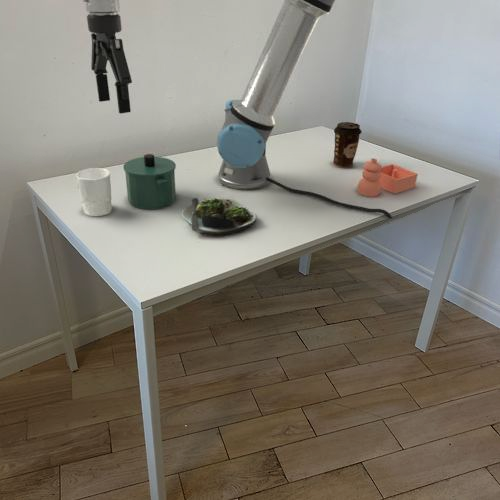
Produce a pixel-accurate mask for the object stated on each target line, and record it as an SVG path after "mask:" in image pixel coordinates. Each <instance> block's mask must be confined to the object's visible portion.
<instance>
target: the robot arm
mask: <svg viewBox="0 0 500 500" xmlns="http://www.w3.org/2000/svg"><path fill="white" fill-rule="evenodd" d="M335 1H336V0H283V3H282V5H281V8H280V10H279V12H278V15H277V16H276V18H275V22H274V23H273V26H272V28H271V30H270V33H269V35H268V37H267V39H266V42H265V44H264V46H263V48H262V51H261V53H260V56H259V58H258V60H257V61H256V62H257V63H256V65H255V66H254V68H253V72H252V74H251V76H250V78H249V80H248V83H247V85H246V87H245V89H244V92H243V95H242V97H241V98H240V99H229V100H227V101H226V103H225V108H224V112H225V116H224V123H223V125H222V126H221V130H220V131H219V133H218V135H217V137H216V148H217V151H218V154H219V156H220V158H221V159H222V162H221V165H220V167H219V171H218V182H219V183H220V184H221V185H223V186H225V187H228V188H230V189H235V190H243V191H244V190H246V191H248V190H249V191H251V190H258V189H261V188H264V187H266V186H268V185H269V184H270V183H272V184H273V185H275V186H277V187H279V188H281V189H283V190H285V191H288V192H290V193H295V194H301V195H307V196H311V197H314V198H318V199H320V200H324V201H325V202H328V203H330V204H333V205H336V206H339V207H343V208H348V209H353V210H357V211H361V212H367V213H379V214H383V215H385V216H386V217H387V218H388V219H393V216H392V215H391V213H390V212H389V211H387V210H386V209H384V208H383V209H382V208H370V207H365V206H359V205H354V204H349V203H345V202H342V201H338V200H335V199H332V198H329V197H327V196H324V195H322V194H320V193H316V192H312V191H307V190H300V189H296V188H292V187H288V186H287V185H284V184H282V183H281V182H279V181H277V180H274V179H272V178H271V175H272V174H271V170H270V167H269V164H268V160H267V156H266V151H267V142H268V140H269V137H270V136H271V133H272V131H273V129H274V127H275V125H276V119H275V117H274V113H275V111H276V109H277V107H278V105H279V102H280V100H281V99H282V96H283V94H284V92H285V90H286V88H287V87H288V83H289V82H290V79H291V77H292V75H293V74H294V71H295V70H296V67H297V65H298V63H299V60H300V59H301V56H302V55H303V52H304V50H305V48H306V46H307V44H308V42H309V40H310V38H311V36H312V33H313V31H314V30H315V27H316V25H317V23H318V21H319V19H320V18H322V17H325V16H327V15H329V14H330V12H331V9H332V7H333V6H334V3H335ZM82 2H83V3H85V4H84V5H85V11H86V12H87V13H88V14H87V15H86V20H87V29H88V31H89V33H91V35H90V36H91V63H90V64H91V65H90V68H91V70H92V71H93V73H94V75H95V81H96V88H97V94H98V102H100V103H101V102H110V101H111V96H110V89H109V88H110V87H109V80H108V70H107V65H108V63H109V66H110V68H111V70H112V73H113V76H114V79H115V83H114V86H115V91H116V99H117V107H118V108H117V109H118V113H119V114H127V113H131V110H132V109H131V102H130V101H131V100H130V92H129V85H130V84H132V83H133V80H132V76H131V72H130V69H129V64H128V61H127V57H126V54H125V50H124V44H123V39H122V38H117V36H116V34H117V33H120V32H122V28H123V27H122V18H121V15H120V14H119V12H121V6H120V0H82ZM92 71H91V72H92Z"/></svg>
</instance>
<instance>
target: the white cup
mask: <svg viewBox="0 0 500 500" xmlns="http://www.w3.org/2000/svg"><path fill="white" fill-rule="evenodd" d="M75 177H76V181H77V186H78V192H79V196H80V200H81V204H82V208H83V209H82V210H83V212H84V214H85V215H87V216H89V217H102V216H105V215H106V216H107V215H108V214H110V213H111V212H112V209H113V206H112V183H111V182H112V181H111V172H110V170H108V169H106V168H103V167H102V168H101V167H90V168H85V169H84V168H83V169H81V170H79V171H78V172H77V173H76V174H75Z"/></svg>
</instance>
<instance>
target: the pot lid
mask: <svg viewBox="0 0 500 500" xmlns="http://www.w3.org/2000/svg"><path fill="white" fill-rule="evenodd" d="M176 167H177V165H176V163H175V161H174V160H172V159H169V158H166V157H162V156H155V154H152V153H147V154H143V157H142V156H141V157H136V158H132V159H129V160H128V161H126V162H125V163H124V164H123V171H124V173H125V172H126V173H128V174H130V175H133V176H139V177H157V176H162V175H166V174H169V173H171V172H173V171H174V172H175V170H176V169H177V168H176Z"/></svg>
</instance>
